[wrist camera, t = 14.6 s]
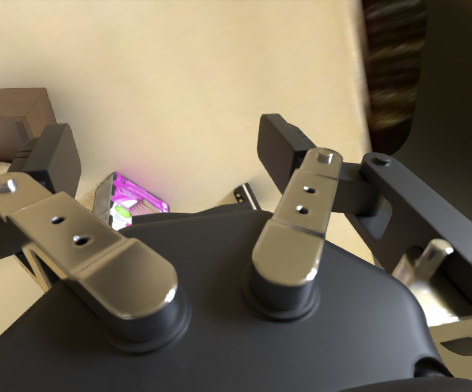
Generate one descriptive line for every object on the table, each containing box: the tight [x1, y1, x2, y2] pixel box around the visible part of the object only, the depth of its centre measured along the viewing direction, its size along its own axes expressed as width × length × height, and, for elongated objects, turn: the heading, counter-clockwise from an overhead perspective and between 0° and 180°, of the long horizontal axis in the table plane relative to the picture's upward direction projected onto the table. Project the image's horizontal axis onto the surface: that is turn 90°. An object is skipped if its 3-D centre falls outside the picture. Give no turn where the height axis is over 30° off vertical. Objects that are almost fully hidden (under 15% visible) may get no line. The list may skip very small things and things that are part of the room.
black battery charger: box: [234, 183, 261, 210], centre depth 52 cm, size 7×4×11 cm, turn 21°
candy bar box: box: [92, 172, 170, 231], centre depth 44 cm, size 11×5×16 cm, turn 41°
